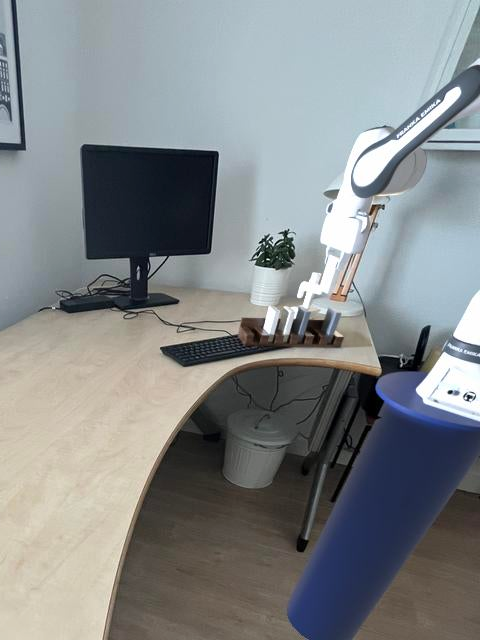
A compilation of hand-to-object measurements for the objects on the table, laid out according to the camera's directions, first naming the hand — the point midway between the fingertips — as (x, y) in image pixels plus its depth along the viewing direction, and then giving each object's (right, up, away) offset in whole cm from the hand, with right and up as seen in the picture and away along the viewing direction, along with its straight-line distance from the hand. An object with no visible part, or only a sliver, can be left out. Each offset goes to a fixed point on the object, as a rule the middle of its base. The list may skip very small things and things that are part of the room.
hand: (333, 266), depth 124 cm
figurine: (+7, 0, +33) cm, 34 cm away
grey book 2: (+4, -16, +13) cm, 21 cm away
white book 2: (-9, -16, +13) cm, 22 cm away
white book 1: (-14, -15, +13) cm, 25 cm away
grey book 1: (-5, -16, +13) cm, 21 cm away
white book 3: (0, -5, +4) cm, 6 cm away
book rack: (-7, -16, +14) cm, 22 cm away
